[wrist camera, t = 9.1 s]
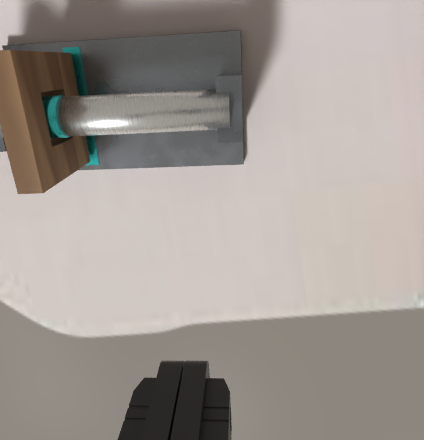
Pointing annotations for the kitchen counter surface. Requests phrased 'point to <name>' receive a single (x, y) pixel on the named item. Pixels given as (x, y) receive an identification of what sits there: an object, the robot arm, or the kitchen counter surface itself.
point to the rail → (151, 100)
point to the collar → (37, 118)
